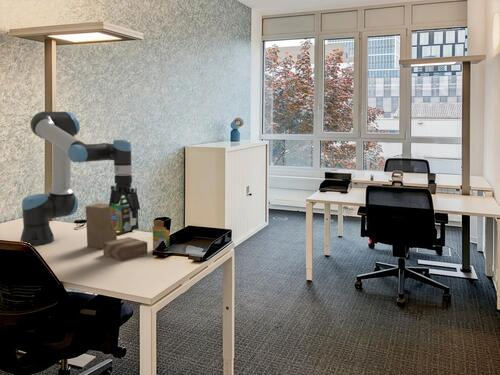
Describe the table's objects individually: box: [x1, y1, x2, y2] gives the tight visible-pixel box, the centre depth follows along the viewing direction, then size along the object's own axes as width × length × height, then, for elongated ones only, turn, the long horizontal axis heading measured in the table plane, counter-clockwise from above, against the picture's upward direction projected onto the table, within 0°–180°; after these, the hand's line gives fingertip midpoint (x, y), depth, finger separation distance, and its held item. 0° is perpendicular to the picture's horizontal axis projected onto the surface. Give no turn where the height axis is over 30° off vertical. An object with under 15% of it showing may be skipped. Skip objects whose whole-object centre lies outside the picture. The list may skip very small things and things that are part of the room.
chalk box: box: [110, 197, 139, 233], centre depth 206 cm, size 9×9×15 cm
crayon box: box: [152, 226, 170, 251], centre depth 215 cm, size 7×3×12 cm, turn 70°
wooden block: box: [85, 202, 118, 250], centre depth 221 cm, size 10×10×20 cm
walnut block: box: [102, 236, 149, 262], centre depth 208 cm, size 14×14×6 cm
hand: (124, 223), depth 206 cm, fingers closed on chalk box, 9 cm apart
